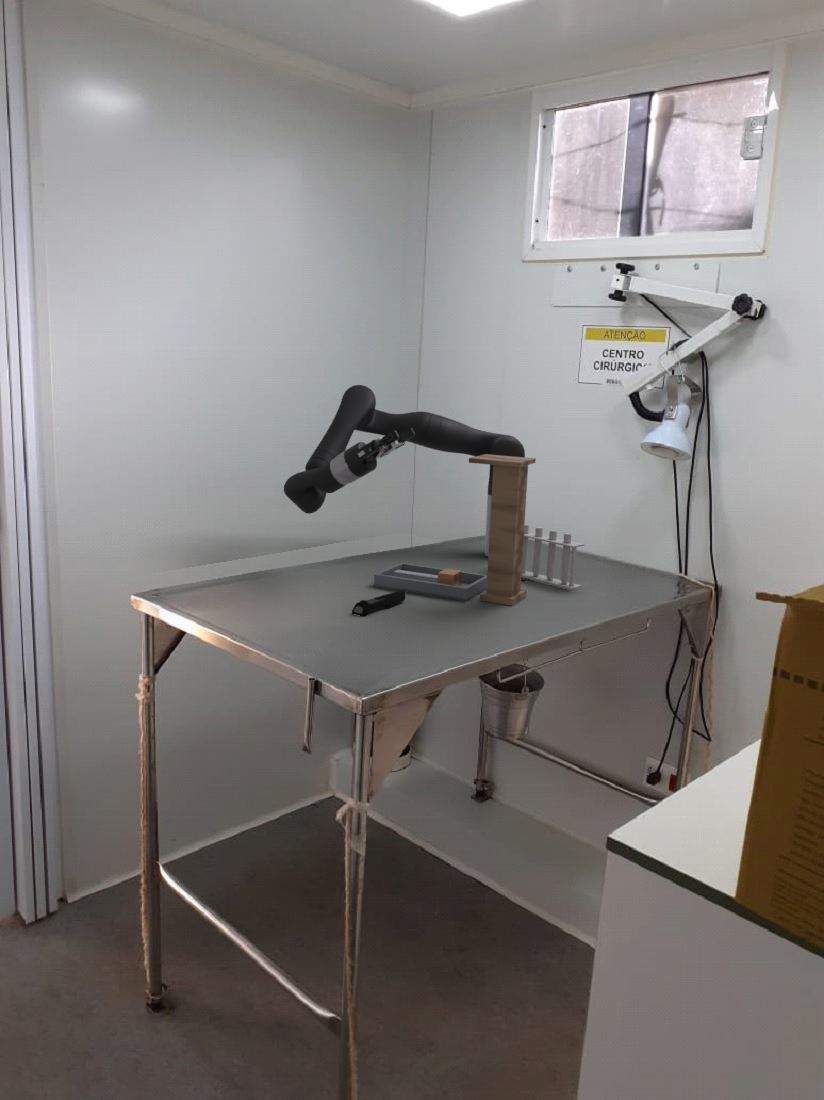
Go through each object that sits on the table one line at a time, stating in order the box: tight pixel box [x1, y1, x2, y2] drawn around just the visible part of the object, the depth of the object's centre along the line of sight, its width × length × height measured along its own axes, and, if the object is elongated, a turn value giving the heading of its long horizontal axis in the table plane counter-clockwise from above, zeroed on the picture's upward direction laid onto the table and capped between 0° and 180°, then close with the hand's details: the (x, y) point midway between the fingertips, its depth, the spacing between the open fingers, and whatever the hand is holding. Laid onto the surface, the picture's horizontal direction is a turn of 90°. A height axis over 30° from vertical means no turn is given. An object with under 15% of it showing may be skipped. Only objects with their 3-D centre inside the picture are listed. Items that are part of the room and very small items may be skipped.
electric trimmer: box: [351, 590, 406, 617], centre depth 187 cm, size 4×16×3 cm, turn 142°
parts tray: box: [373, 562, 487, 602], centre depth 205 cm, size 14×24×3 cm, turn 64°
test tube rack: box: [521, 523, 585, 591], centre depth 215 cm, size 25×4×13 cm, turn 42°
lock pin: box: [394, 568, 463, 587], centre depth 205 cm, size 5×16×4 cm, turn 65°
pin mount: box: [468, 454, 536, 606], centre depth 195 cm, size 10×12×32 cm
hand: (405, 432), depth 201 cm, fingers open, 8 cm apart
